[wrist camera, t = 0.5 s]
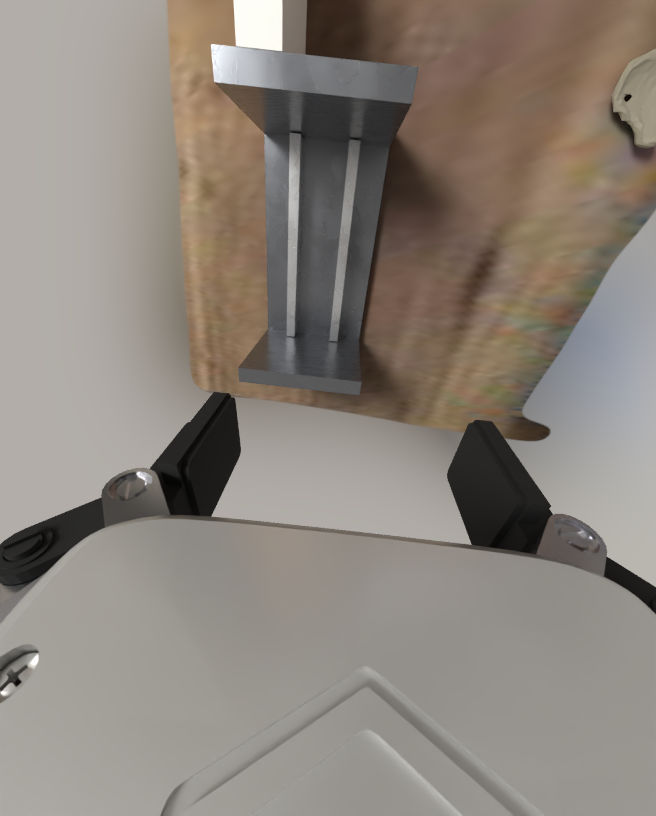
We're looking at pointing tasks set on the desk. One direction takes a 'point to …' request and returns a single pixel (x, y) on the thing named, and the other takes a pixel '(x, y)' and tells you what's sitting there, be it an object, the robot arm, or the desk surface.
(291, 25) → the door
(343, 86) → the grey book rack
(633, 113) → the jawbone
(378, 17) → the desk surface
